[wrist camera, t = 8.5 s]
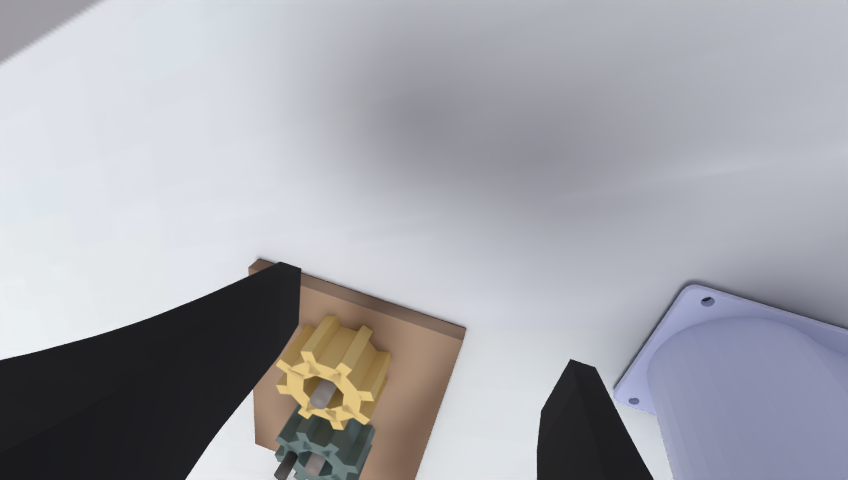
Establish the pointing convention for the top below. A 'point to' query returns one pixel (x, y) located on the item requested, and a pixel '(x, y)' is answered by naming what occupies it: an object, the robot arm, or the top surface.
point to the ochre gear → (335, 371)
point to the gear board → (396, 409)
